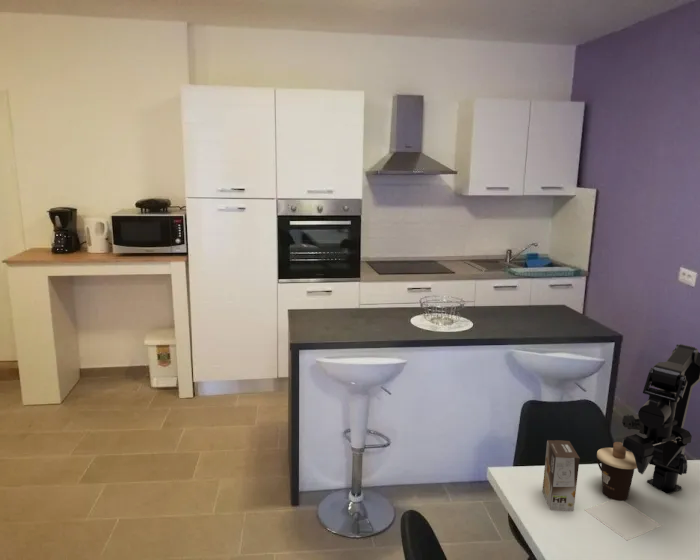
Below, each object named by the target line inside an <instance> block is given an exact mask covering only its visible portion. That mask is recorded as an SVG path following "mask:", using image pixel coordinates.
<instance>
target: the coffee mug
mask: <svg viewBox="0 0 700 560" xmlns="http://www.w3.org/2000/svg"><path fill="white" fill-rule="evenodd" d="M596 461H597V466H598V467H599V469H600V472H601V483H602V484H601V486H602V488H601V489H602V493H603V495H604V496H605V497H607V498H608V499H609V500H612V499H613V500H618V501H624V502H625V501H626V500H628V498H629V493H630V490H631V486H632V482H633V481H632V480H633V477H634V473H635V469H621V468H616V467H612V466H609V465H607V464H605V463H603V462H601V461H600V460H599V459H598V458H597V457H596Z"/></svg>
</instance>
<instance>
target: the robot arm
mask: <svg viewBox="0 0 700 560" xmlns="http://www.w3.org/2000/svg"><path fill="white" fill-rule="evenodd" d="M699 383H700V351H699V348H696V347H695V346H691V345H686V344H682V343H681V344H676V345H675V347H674V349H673V350H672V351H671V354H670V356H669V358H667V360H666V361H662V362H661V361H660V362H658V363H656V364H654V365H653V366H652V367H650V369H649V371H648V374H647V378H646V381H645V384H644V387H643V391H642V394H644V395H648V400H647V401H645V403H644V404H643V405H642V406H641V407H640V409H639V410H638V412H637V413H638V414H636V413H635V414H631V415H630V414H626V415H625V414H624V415H623V417H622V422H621V423H622V426H623V427H624V428H626V429H627V430H637V431H639V433H640V434H641V435H645V438H644V437H642V436H640V435H639V434H638V433H636V434H632V435H628V436H626V437H625V436H624V437H623V438H622V443H623V444H622V445H623V447H625V448H626V450H627V451H629V452H632V453H633V455H634V458H635V461H636V465H637V468H636V469H637V471H638V473H639V474H641V475H643V474H644V473H645V471H646V469H647V468H648V466H649V465H652V466H654V469H653V473H652V478H650V479H647V481H646V483H647V484H648V485H650V486H653V487H654V488H655V489H657V490H659V491H661V492H662V493H664V494H667V495H670V494H672V493H675V492H677V491H680V490H682V486H680V485H679V484H677V483H678V477H679V476H683V475H686V474H687V473H688V460H687V455H686V454H685V451H686V447H687V446H688V444H690V443H691V442H692V434H691V433H690V431H689V430H687V429H685V428H684V425H685V422H686V418H687V413H688V409H689V406H690V405H689V404H690V400H691V397H692V396H691V395H692V393H693V389H694V387H695V386H696V385H698V384H699ZM656 388H657V389H656Z"/></svg>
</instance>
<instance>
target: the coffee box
mask: <svg viewBox="0 0 700 560" xmlns="http://www.w3.org/2000/svg"><path fill="white" fill-rule="evenodd" d="M580 459H581V458H580V456H579V454H578V453H577V451H576V450H575V448H574V446H573V444H572V443H571V441H570V440H560V439H559V440H558V439H554V440H550V439H547V441H546V450H545V459H544V471H543V480H542V494H543V497H544V498H545V501H546V503H547V505H548V508H549V510H550V511H559V512H574V510H575V509H574V508H575V502H576V494H577V485H578V476H579V475H578V474H579V466H580Z"/></svg>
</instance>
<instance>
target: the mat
mask: <svg viewBox="0 0 700 560" xmlns="http://www.w3.org/2000/svg"><path fill="white" fill-rule="evenodd" d="M584 512H586V513H588V514H589V515H590V516H592V517H593V518H595V519H596V520H598V521H599V522H600V523H602V524H603V525H605V526H606V527H607V528H608V529H610V530H611V531H613V532H614V533H615V534H617V535H619V536H620V537H621V538H623V539H624V540H626V541H629V540H632V539H634V538H637V537H639V536H641V535H644V534H646V533H648V532H649V533H650V532H651V531H653V530H656V529H658V528H660V527H662V526H663V525H661V524H660V523H659V522H657V521H656V520H654V519H652V518H651V517H649V516H648V515H646V514H645V513H643V512H642V511H640V510H639V509H637V508H636V507H634V506H633V505H630V504H629V503H627V502H626V501H625V500H624V501H618V500H613V499H609V500H607V501H605V502H601V503H599V504H596V505H593V506H590V507H588V508H585V509H584Z"/></svg>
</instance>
